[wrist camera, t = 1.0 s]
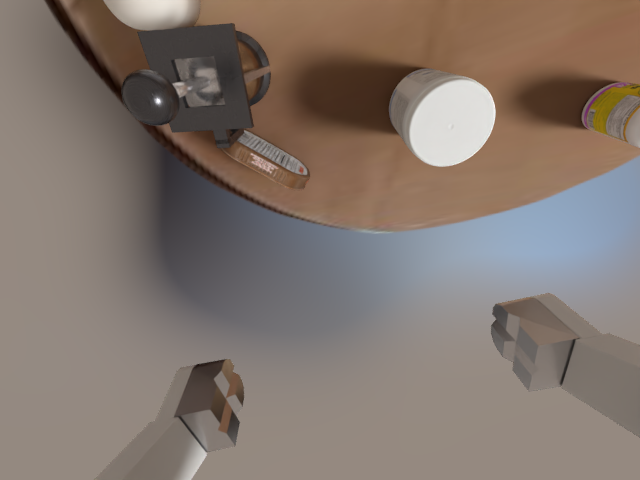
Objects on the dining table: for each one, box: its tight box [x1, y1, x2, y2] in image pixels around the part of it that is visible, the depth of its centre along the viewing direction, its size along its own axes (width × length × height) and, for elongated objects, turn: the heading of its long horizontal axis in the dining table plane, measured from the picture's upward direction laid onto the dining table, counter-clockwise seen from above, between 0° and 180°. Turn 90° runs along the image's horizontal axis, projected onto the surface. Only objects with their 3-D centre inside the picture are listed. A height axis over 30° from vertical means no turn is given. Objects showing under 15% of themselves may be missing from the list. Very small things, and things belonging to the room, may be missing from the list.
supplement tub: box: [389, 69, 495, 166], centre depth 38 cm, size 10×10×15 cm
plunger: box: [122, 56, 225, 125], centre depth 27 cm, size 7×7×14 cm
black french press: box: [137, 23, 271, 148], centre depth 37 cm, size 12×10×15 cm
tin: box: [221, 129, 310, 190], centre depth 46 cm, size 15×3×8 cm, turn 60°
